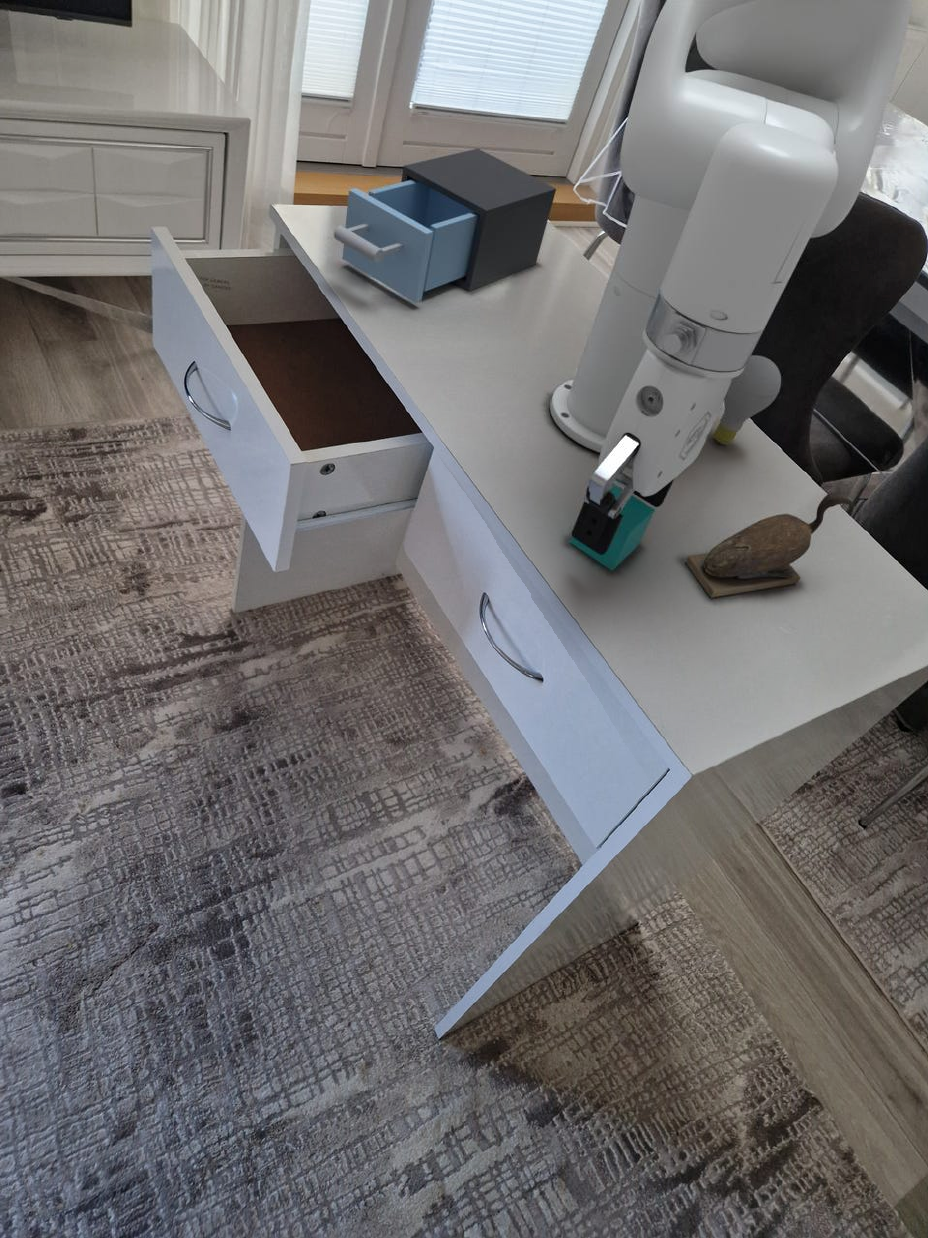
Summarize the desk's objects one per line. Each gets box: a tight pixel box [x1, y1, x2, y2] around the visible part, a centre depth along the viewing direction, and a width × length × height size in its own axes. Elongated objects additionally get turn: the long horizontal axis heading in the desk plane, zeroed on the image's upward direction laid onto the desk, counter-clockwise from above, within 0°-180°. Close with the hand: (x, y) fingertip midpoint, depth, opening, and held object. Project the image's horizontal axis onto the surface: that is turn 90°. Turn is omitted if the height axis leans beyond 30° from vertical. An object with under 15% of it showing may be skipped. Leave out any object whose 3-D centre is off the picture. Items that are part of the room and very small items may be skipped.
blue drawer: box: [333, 179, 480, 303], centre depth 93 cm, size 18×11×8 cm, turn 141°
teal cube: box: [569, 483, 656, 571], centre depth 70 cm, size 4×4×4 cm
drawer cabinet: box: [400, 148, 557, 292], centre depth 101 cm, size 15×13×10 cm
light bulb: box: [713, 354, 782, 445], centre depth 84 cm, size 5×6×10 cm
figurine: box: [685, 492, 855, 598], centre depth 71 cm, size 14×4×9 cm, turn 111°
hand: (617, 520), depth 68 cm, fingers open, 9 cm apart
